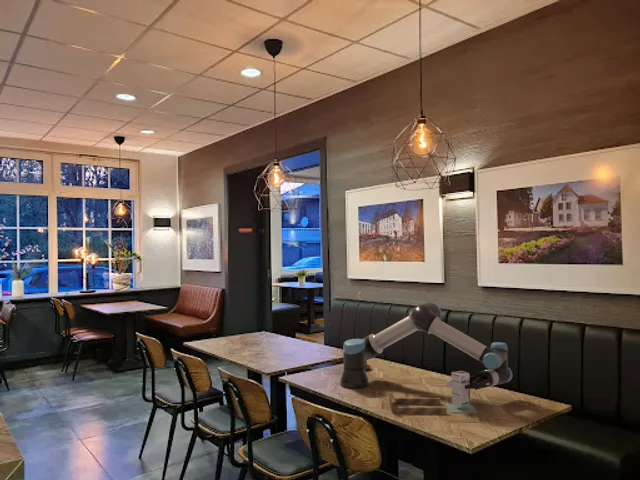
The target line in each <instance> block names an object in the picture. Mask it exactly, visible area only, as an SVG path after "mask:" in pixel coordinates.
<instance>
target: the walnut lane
mask: <svg viewBox="0 0 640 480" xmlns="http://www.w3.org/2000/svg"><path fill="white" fill-rule="evenodd" d="M388 397H389V398H388V400H389V401H388V403H389V406H390V409H391V413H392V414H399V415H402V414H407V415H408V414H409V415H410V414H411V415H412V414H413V415H417V414H418V415H419V414H420V415H447V410H448V408H447V407H446V406H410V405H441V398H440V397H395V396H394V392H391V391H390V392H389V393H388Z"/></svg>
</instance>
